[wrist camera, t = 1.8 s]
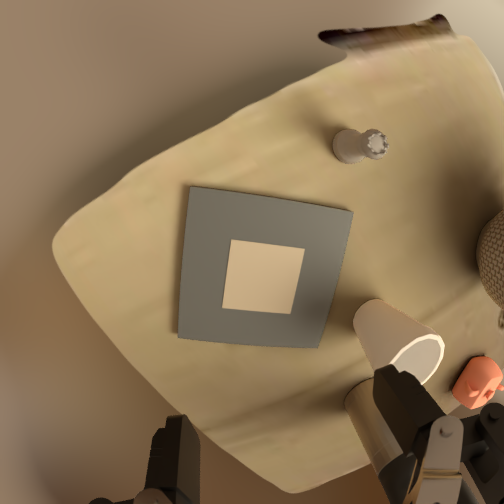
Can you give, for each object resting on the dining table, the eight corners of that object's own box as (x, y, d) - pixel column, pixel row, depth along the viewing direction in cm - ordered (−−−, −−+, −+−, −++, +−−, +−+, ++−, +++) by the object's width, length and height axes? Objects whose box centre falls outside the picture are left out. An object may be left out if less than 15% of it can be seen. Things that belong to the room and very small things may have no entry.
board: (350, 211, 35) (354, 212, 34) (315, 344, 41) (317, 348, 40) (191, 186, 32) (190, 186, 31) (178, 333, 38) (177, 338, 37)
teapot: (462, 354, 47) (489, 380, 37) (496, 351, 50) (519, 371, 40) (438, 394, 50) (460, 421, 40) (475, 386, 53) (495, 407, 43)
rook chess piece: (368, 154, 33) (402, 154, 26) (341, 170, 34) (372, 173, 26) (352, 124, 32) (384, 115, 24) (324, 139, 32) (352, 133, 25)
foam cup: (384, 342, 42) (424, 390, 30) (336, 343, 41) (370, 400, 29) (403, 290, 40) (454, 331, 27) (353, 287, 39) (401, 335, 26)
